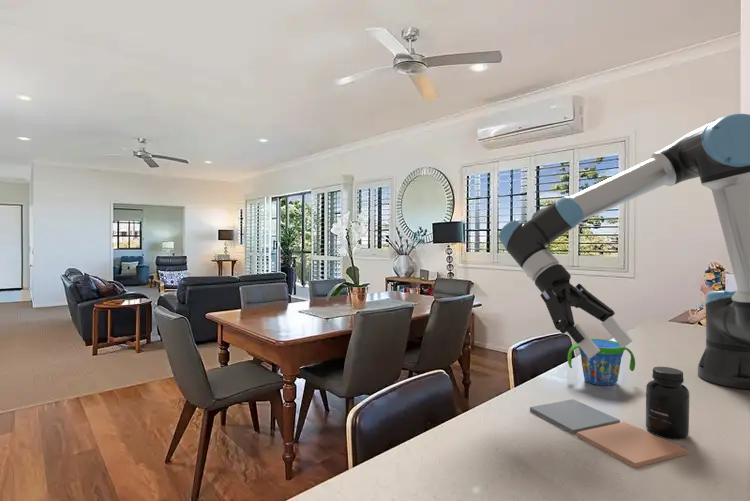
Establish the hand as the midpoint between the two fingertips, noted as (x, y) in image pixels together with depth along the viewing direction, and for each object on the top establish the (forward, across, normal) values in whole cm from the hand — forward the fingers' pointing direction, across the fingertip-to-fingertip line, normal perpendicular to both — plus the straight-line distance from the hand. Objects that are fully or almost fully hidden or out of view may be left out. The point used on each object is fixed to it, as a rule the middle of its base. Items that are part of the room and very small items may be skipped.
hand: (612, 349), depth 89 cm
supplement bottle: (+17, 0, -3) cm, 17 cm away
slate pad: (+7, +7, -13) cm, 16 cm away
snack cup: (+2, -19, -18) cm, 26 cm away
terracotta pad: (+16, +11, -4) cm, 19 cm away
